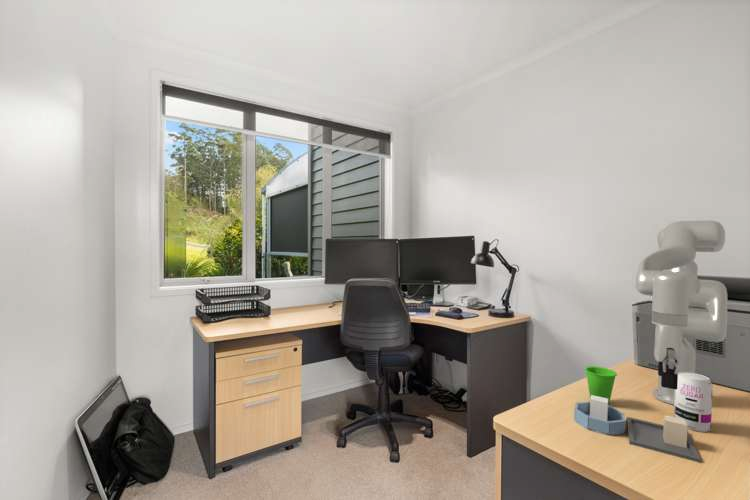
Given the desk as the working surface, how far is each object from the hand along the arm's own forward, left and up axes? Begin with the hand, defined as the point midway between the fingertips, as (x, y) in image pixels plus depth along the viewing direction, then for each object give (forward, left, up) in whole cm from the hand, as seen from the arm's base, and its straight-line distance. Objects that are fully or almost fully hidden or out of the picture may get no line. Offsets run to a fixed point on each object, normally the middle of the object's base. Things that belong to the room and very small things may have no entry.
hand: (667, 381), depth 96 cm
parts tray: (0, -1, -16) cm, 16 cm away
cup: (-17, -15, -16) cm, 28 cm away
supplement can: (-15, +8, -16) cm, 23 cm away
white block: (-2, -15, -15) cm, 22 cm away
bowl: (0, -15, -16) cm, 22 cm away
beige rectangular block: (0, +2, -16) cm, 16 cm away
